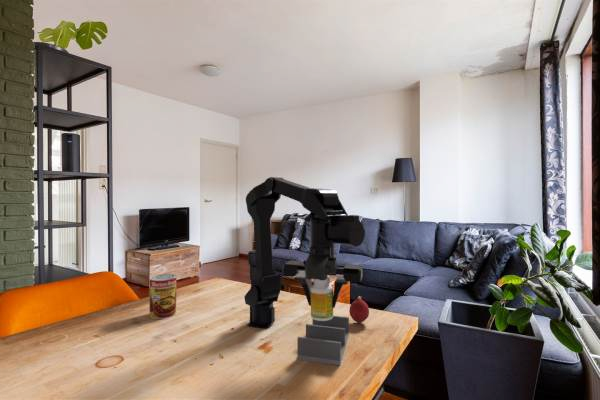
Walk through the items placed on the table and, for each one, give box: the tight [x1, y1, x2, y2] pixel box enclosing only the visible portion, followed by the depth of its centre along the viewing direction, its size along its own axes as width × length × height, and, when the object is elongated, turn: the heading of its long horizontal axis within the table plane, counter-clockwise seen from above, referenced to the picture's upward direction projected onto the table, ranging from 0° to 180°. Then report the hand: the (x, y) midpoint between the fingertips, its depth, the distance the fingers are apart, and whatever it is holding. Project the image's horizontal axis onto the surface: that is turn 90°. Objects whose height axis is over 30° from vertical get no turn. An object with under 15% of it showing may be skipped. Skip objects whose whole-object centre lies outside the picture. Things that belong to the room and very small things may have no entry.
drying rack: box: [296, 315, 350, 366], centre depth 79 cm, size 10×16×5 cm, turn 164°
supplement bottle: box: [310, 275, 334, 321], centre depth 75 cm, size 5×5×10 cm
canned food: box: [148, 273, 177, 320], centre depth 100 cm, size 8×8×12 cm
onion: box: [348, 296, 370, 325], centre depth 94 cm, size 6×6×8 cm
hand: (321, 306), depth 75 cm, fingers closed on supplement bottle, 5 cm apart
